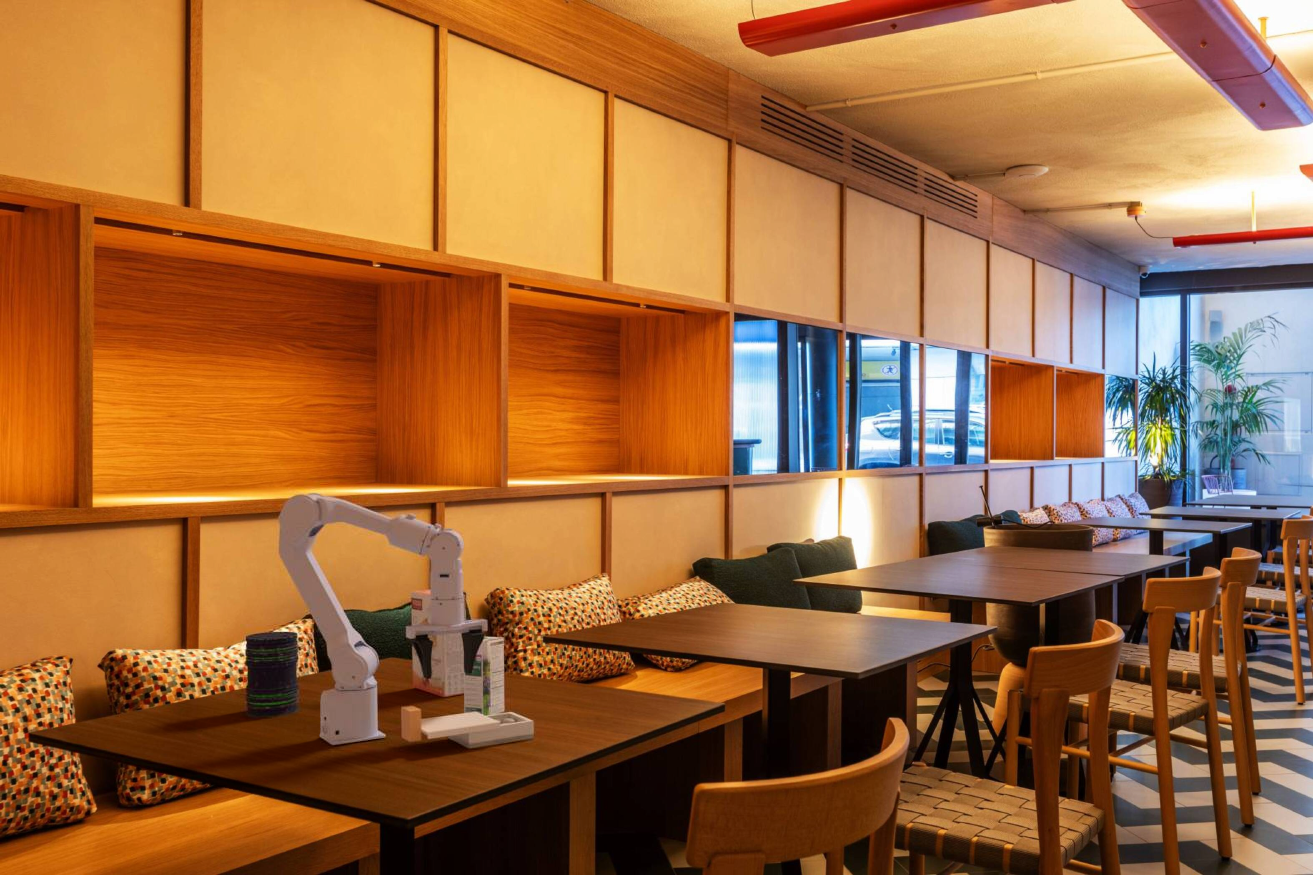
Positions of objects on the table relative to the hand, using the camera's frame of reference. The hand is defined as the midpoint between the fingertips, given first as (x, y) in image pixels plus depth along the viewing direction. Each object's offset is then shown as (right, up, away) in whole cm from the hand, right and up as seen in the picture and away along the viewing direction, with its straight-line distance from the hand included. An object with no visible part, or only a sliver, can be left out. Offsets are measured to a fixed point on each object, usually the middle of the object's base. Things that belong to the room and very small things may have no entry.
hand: (448, 675), depth 202 cm
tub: (+8, -10, -3) cm, 13 cm away
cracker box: (-9, -12, +39) cm, 42 cm away
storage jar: (-38, -12, +22) cm, 46 cm away
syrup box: (+4, -11, +16) cm, 20 cm away
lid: (+1, -8, -8) cm, 11 cm away
